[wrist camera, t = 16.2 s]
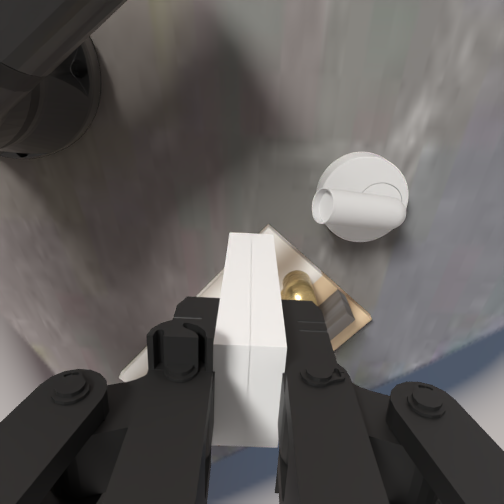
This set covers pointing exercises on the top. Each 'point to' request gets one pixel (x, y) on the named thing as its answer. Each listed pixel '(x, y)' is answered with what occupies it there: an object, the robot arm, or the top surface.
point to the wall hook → (361, 197)
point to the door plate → (288, 259)
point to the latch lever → (297, 287)
